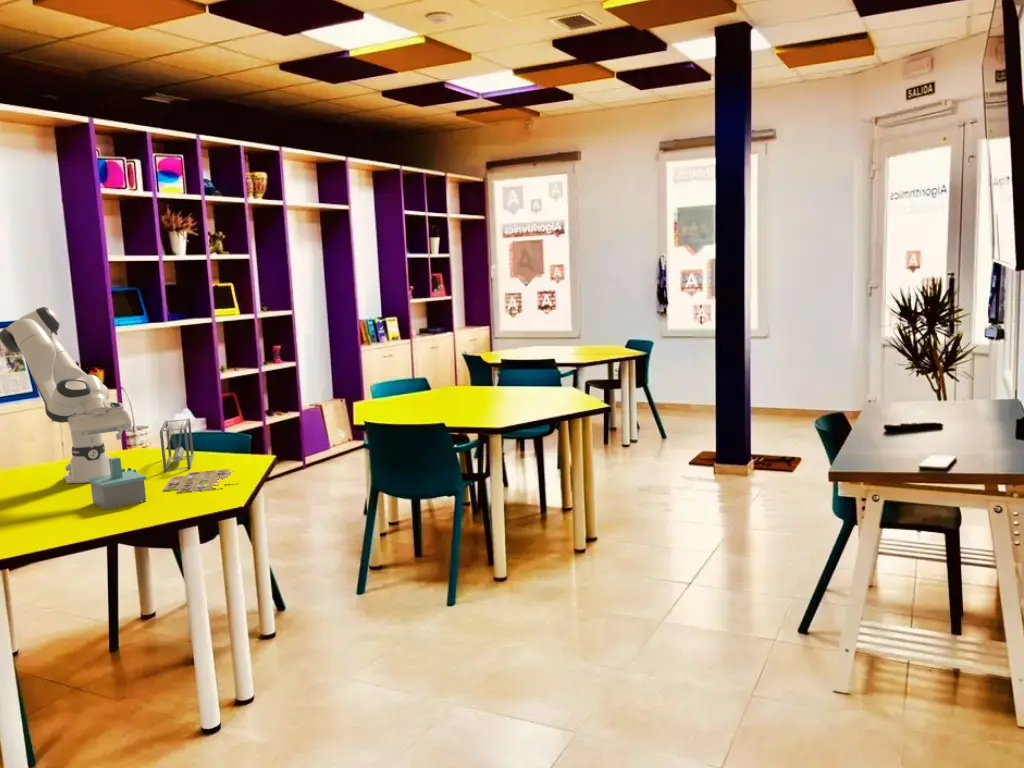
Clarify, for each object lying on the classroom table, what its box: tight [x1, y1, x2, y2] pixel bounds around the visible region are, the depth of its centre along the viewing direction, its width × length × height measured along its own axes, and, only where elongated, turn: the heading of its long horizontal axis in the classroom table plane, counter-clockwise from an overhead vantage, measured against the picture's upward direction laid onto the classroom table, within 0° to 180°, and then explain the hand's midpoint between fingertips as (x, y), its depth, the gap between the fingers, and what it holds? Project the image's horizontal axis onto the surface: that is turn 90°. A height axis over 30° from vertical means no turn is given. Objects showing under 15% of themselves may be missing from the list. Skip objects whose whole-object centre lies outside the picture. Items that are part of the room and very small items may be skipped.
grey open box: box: [90, 480, 147, 510], centre depth 306 cm, size 14×14×8 cm
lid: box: [88, 456, 147, 488], centre depth 305 cm, size 15×15×9 cm
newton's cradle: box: [159, 418, 195, 472], centre depth 367 cm, size 30×10×18 cm, turn 18°
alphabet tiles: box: [162, 468, 235, 494], centre depth 332 cm, size 28×33×1 cm
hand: (105, 440), depth 311 cm, fingers open, 8 cm apart
